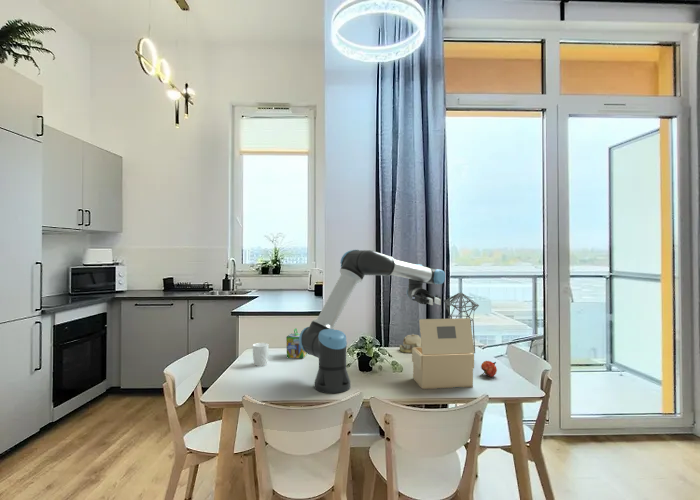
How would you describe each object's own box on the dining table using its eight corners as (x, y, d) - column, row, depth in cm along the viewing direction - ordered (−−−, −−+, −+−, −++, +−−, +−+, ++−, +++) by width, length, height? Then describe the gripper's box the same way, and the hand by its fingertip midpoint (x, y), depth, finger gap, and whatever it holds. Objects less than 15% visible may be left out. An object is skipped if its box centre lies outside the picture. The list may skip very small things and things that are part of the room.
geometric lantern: (471, 355, 225) (471, 291, 224) (479, 363, 209) (480, 294, 208) (441, 355, 225) (442, 291, 224) (448, 363, 209) (448, 294, 209)
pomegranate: (486, 384, 185) (504, 370, 185) (476, 370, 186) (493, 357, 186) (482, 380, 192) (499, 367, 193) (472, 367, 193) (489, 354, 193)
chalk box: (302, 359, 217) (302, 331, 217) (286, 358, 218) (286, 330, 218) (307, 354, 226) (307, 327, 226) (291, 353, 227) (291, 326, 227)
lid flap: (422, 354, 171) (422, 354, 171) (419, 319, 176) (419, 319, 175) (473, 353, 174) (474, 352, 174) (469, 318, 179) (469, 318, 178)
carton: (420, 389, 172) (420, 355, 172) (411, 378, 186) (411, 347, 186) (474, 387, 175) (474, 354, 175) (461, 376, 189) (461, 345, 189)
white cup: (270, 365, 205) (270, 345, 205) (253, 367, 202) (253, 347, 202) (267, 361, 212) (267, 342, 212) (251, 363, 209) (251, 343, 209)
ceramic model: (422, 348, 240) (422, 331, 240) (427, 353, 229) (427, 335, 229) (398, 349, 239) (398, 331, 238) (402, 354, 227) (402, 336, 227)
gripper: (435, 302, 213) (452, 310, 189) (405, 303, 211) (418, 310, 187) (435, 288, 213) (452, 293, 189) (405, 288, 211) (419, 294, 187)
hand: (436, 302), depth 188 cm, fingers open, 3 cm apart
